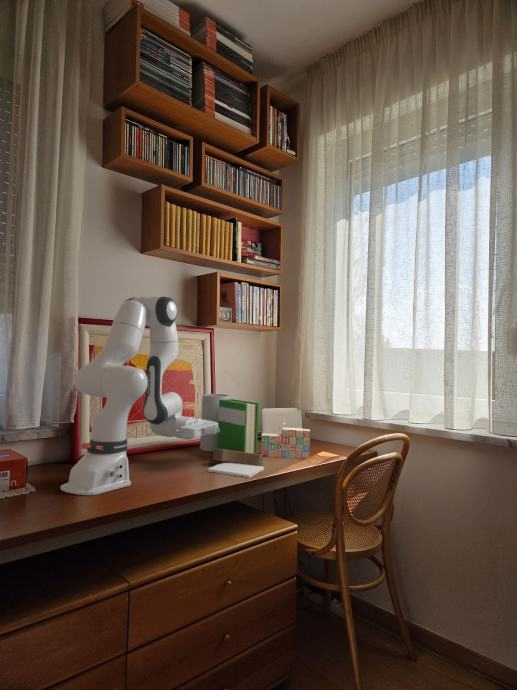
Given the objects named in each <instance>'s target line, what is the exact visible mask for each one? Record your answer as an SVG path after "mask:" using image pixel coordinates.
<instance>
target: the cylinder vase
mask: <svg viewBox="0 0 517 690" xmlns="http://www.w3.org/2000/svg"><path fill="white" fill-rule="evenodd" d="M225 399H230V395H229V394H224V393H223V394H222V393H205V394H202V395H201V416H200V418H201V420H208V421H214V422H217V423H218V421H219V400H225ZM199 445H200V446H199V447H200V450H201V451H203V452H206V453H207V452H209V453H213V449H214V448H218V433H216V434H206V435H203V436H200V444H199Z"/></svg>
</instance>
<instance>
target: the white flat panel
mask: <svg viewBox="0 0 517 690" xmlns="http://www.w3.org/2000/svg"><path fill="white" fill-rule="evenodd" d="M264 470H265V466H262V465H261V466H255V465H247V464H240V463H233V462H226V461H221V462H220V463H218V464H216V465H214V466H210V467H209V468H207V472H208V473H214V472H215V473H216V474H221V473H222V474H221V475H227V474H228V476H234V475H236V477H241V476H243V477H242V478H247V477H250V478H251V477H253V476H255V475H257V474H258V473H260V472H262V471H264Z"/></svg>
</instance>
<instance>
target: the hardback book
mask: <svg viewBox="0 0 517 690" xmlns="http://www.w3.org/2000/svg"><path fill="white" fill-rule="evenodd" d="M259 406H260V403H259V402H253V401H246V400H240V399H236V398H229V399H225V400H219V421H218V428H219V433H218V449H225V450H231V451H239V452H246V453H254V454H258V436H259V434H258V433H259V413H260V412H259V409H260V407H259Z"/></svg>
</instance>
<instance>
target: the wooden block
mask: <svg viewBox="0 0 517 690" xmlns="http://www.w3.org/2000/svg"><path fill="white" fill-rule="evenodd" d="M263 457H264V456H263V455H261V453H257V454H254V453H246V452H239V451H231V450H225V449H218V448H214V449H213V452H212V457H211V459H212V460H213V461H220V462H225V461H226V462H233V463H240V464H247V465H255V466H262V464H263Z"/></svg>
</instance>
